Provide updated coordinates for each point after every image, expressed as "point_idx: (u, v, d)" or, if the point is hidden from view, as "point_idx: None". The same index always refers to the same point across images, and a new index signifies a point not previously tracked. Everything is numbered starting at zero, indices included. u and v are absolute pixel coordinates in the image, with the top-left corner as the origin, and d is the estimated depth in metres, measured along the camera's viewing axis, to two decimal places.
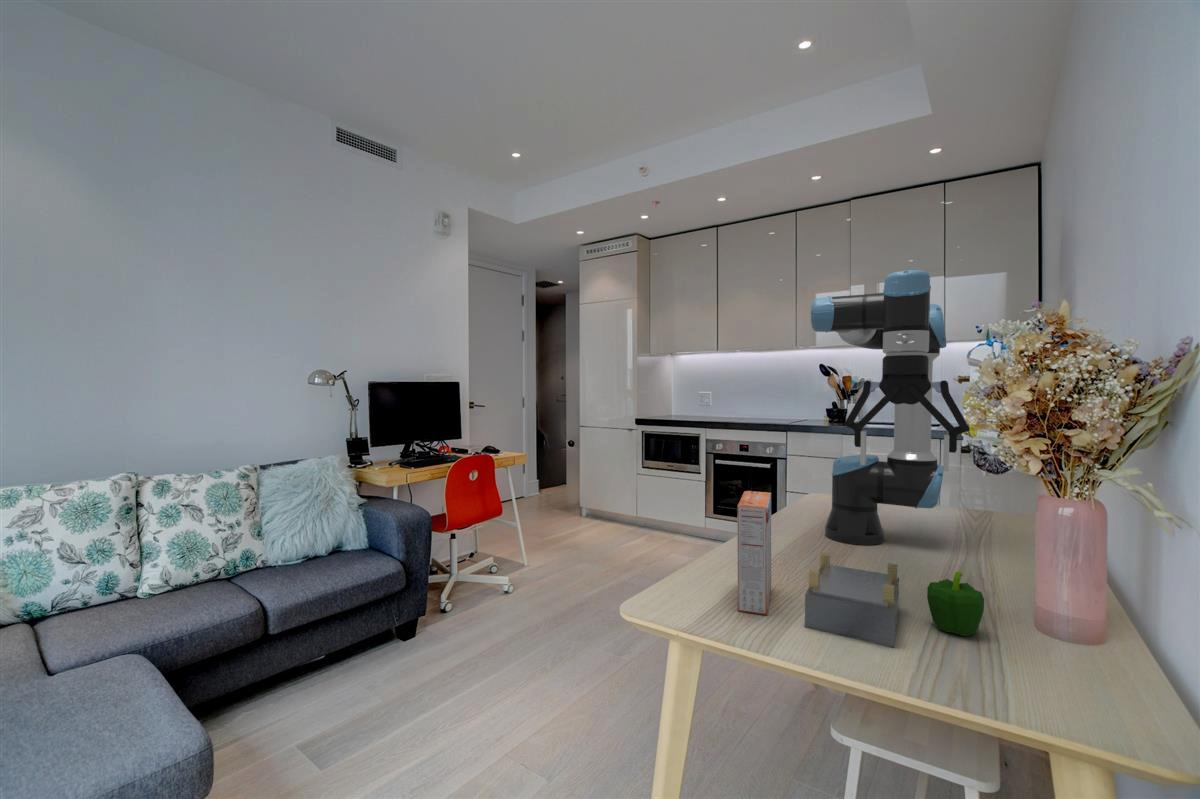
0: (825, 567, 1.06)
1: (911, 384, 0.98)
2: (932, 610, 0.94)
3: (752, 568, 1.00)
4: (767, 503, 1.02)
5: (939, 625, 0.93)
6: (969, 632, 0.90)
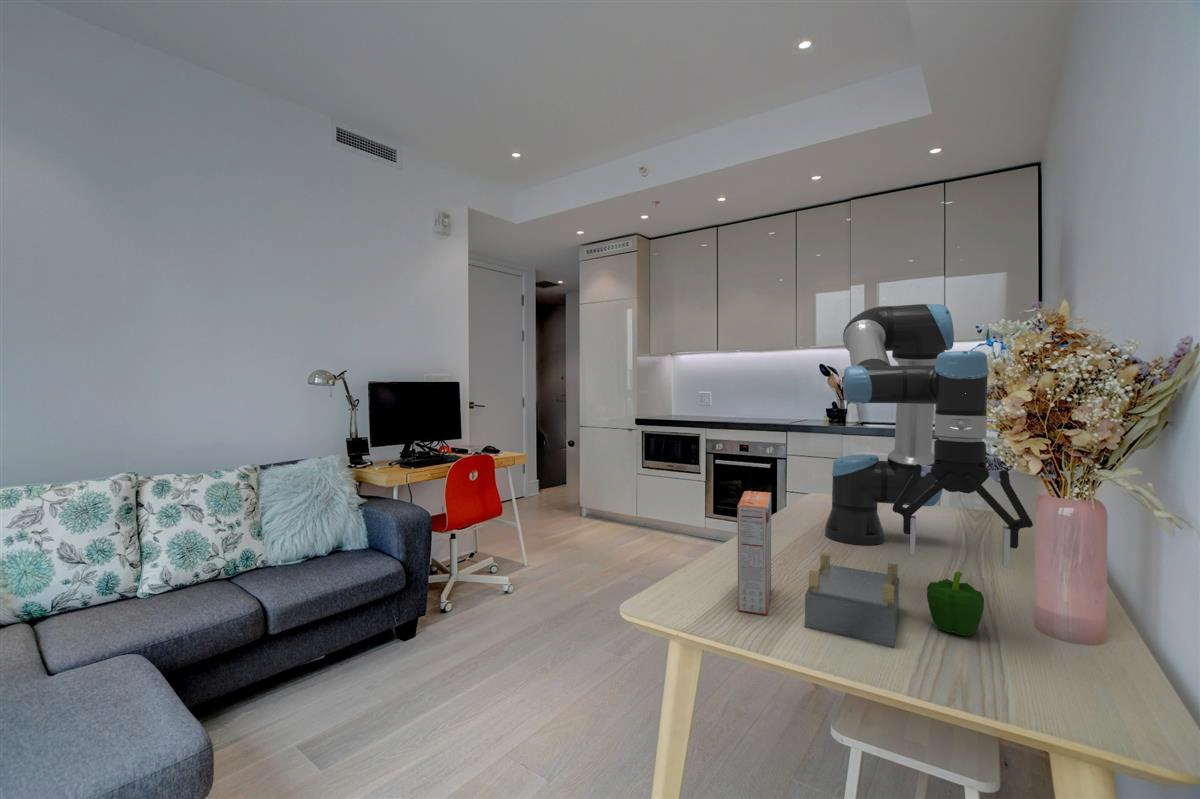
0: (825, 567, 1.06)
1: (967, 472, 0.91)
2: (932, 610, 0.94)
3: (752, 568, 1.00)
4: (767, 503, 1.02)
5: (939, 625, 0.93)
6: (969, 632, 0.90)
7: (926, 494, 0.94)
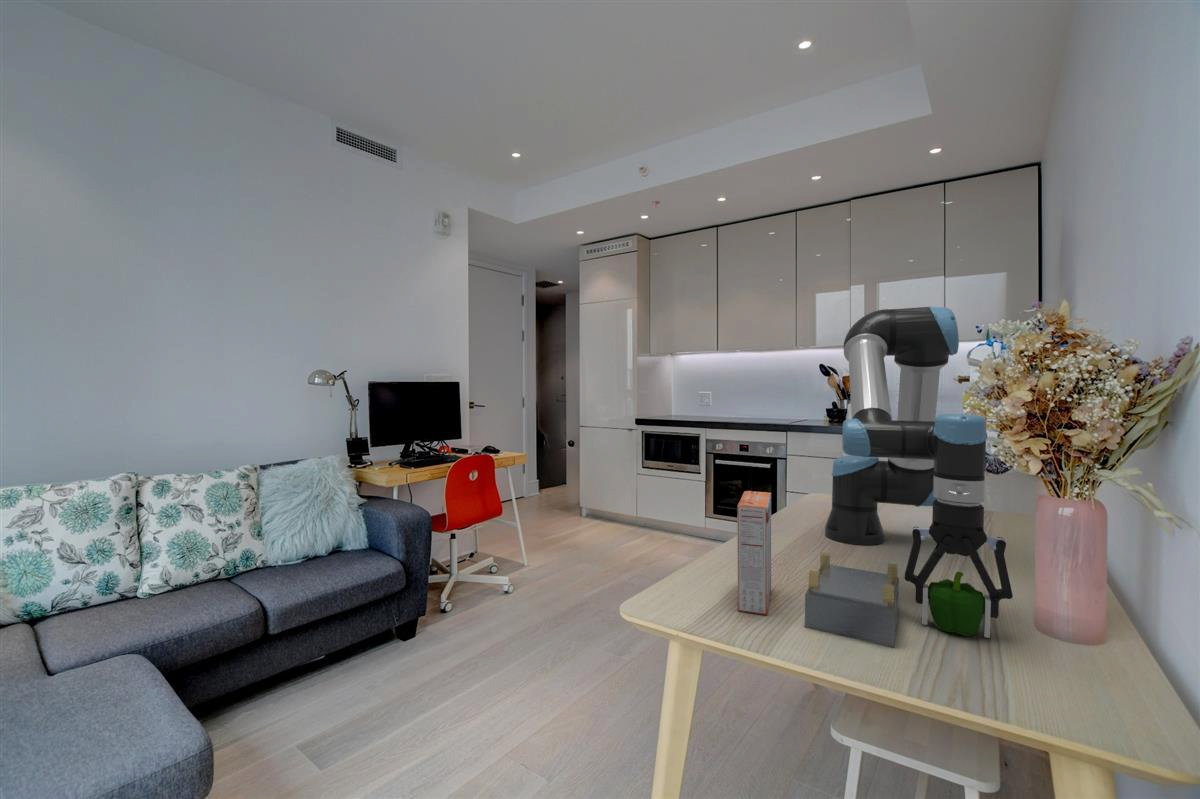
0: (825, 567, 1.06)
1: (966, 532, 0.91)
2: (933, 610, 0.94)
3: (752, 568, 1.00)
4: (767, 503, 1.02)
5: (940, 625, 0.93)
6: (970, 632, 0.90)
7: (931, 560, 0.94)
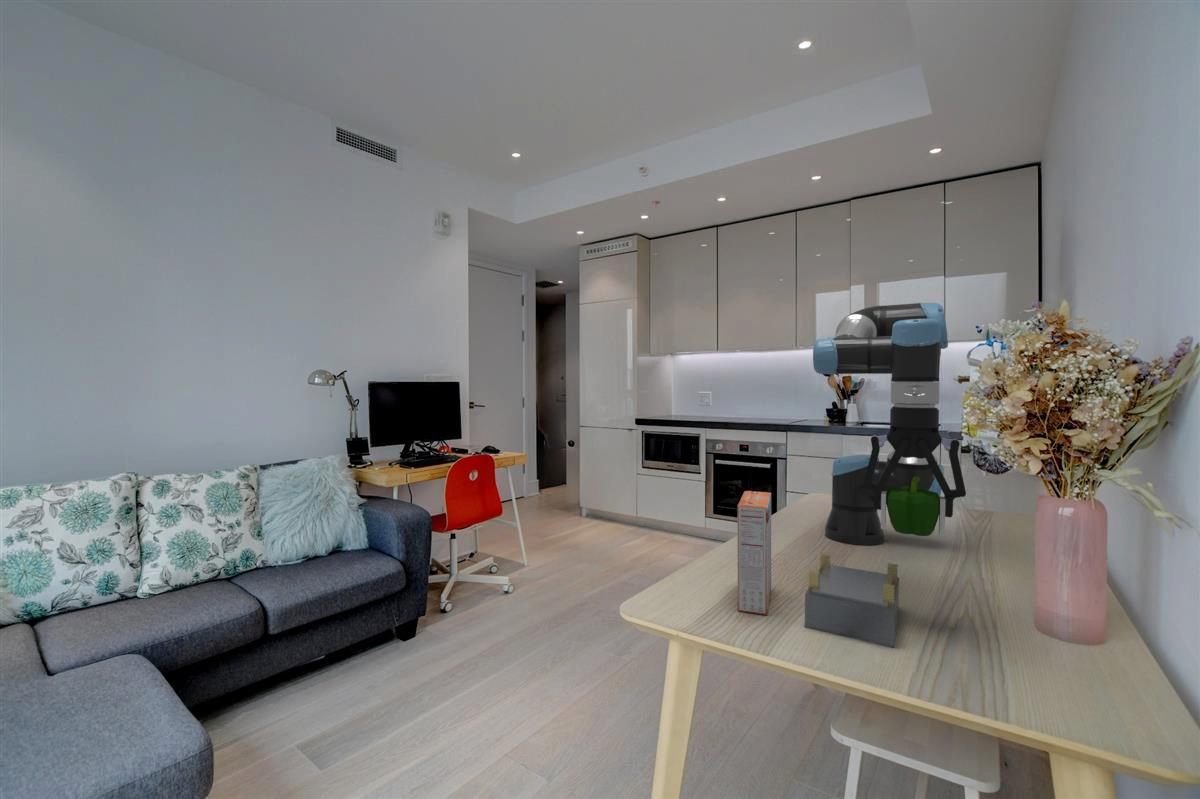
0: (825, 567, 1.06)
1: (922, 435, 0.93)
2: (891, 514, 0.95)
3: (752, 568, 1.00)
4: (767, 503, 1.02)
5: (897, 528, 0.94)
6: (926, 532, 0.92)
7: (889, 465, 0.96)
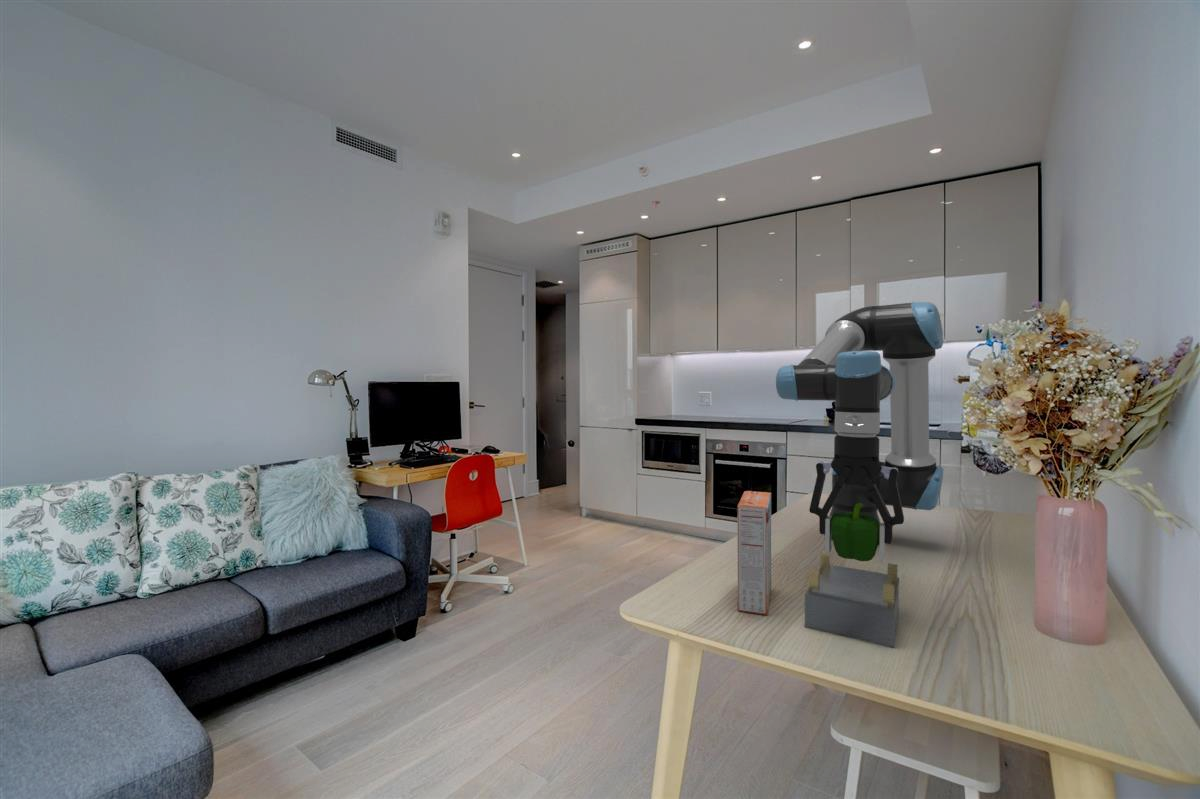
0: (825, 567, 1.06)
1: (863, 463, 0.96)
2: (833, 539, 0.98)
3: (752, 568, 1.00)
4: (767, 503, 1.02)
5: (839, 552, 0.97)
6: (865, 557, 0.95)
7: (833, 492, 0.99)
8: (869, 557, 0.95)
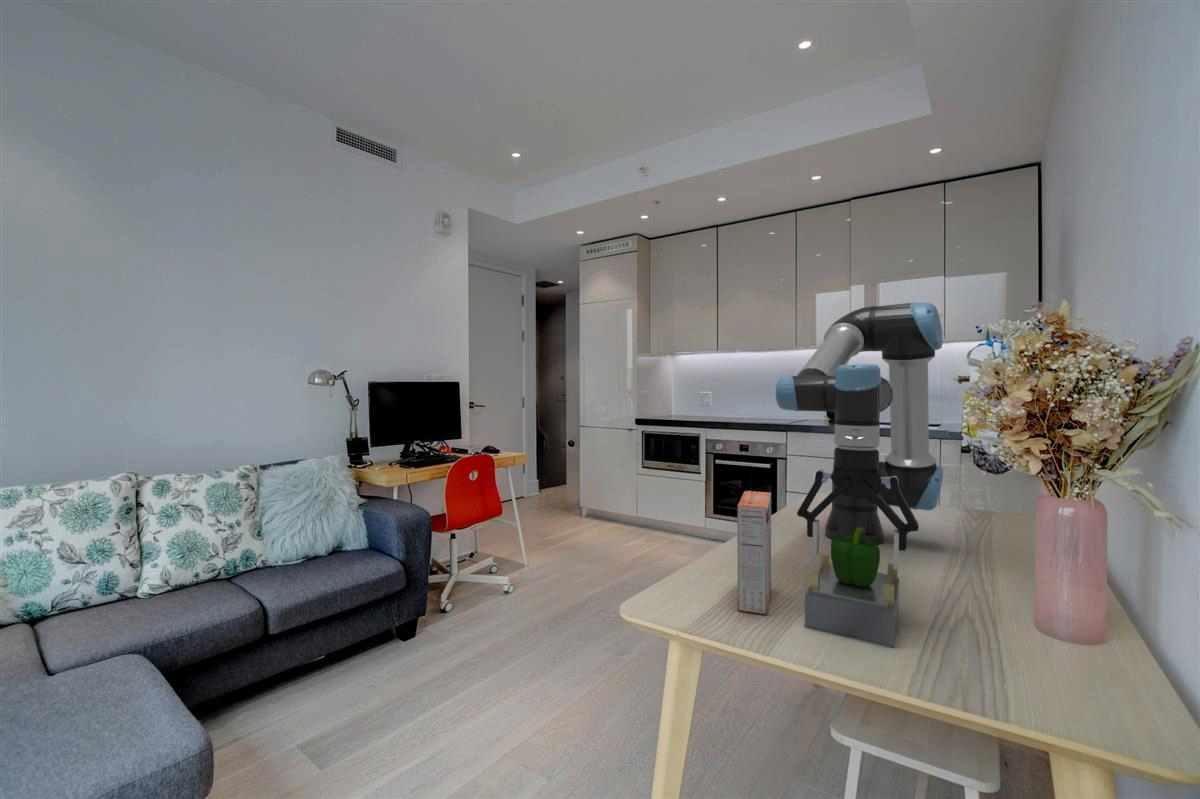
0: (825, 567, 1.06)
1: (862, 478, 0.96)
2: (833, 563, 0.99)
3: (752, 568, 1.00)
4: (767, 503, 1.02)
5: (839, 577, 0.98)
6: (865, 583, 0.95)
7: (826, 499, 1.00)
8: (869, 582, 0.95)
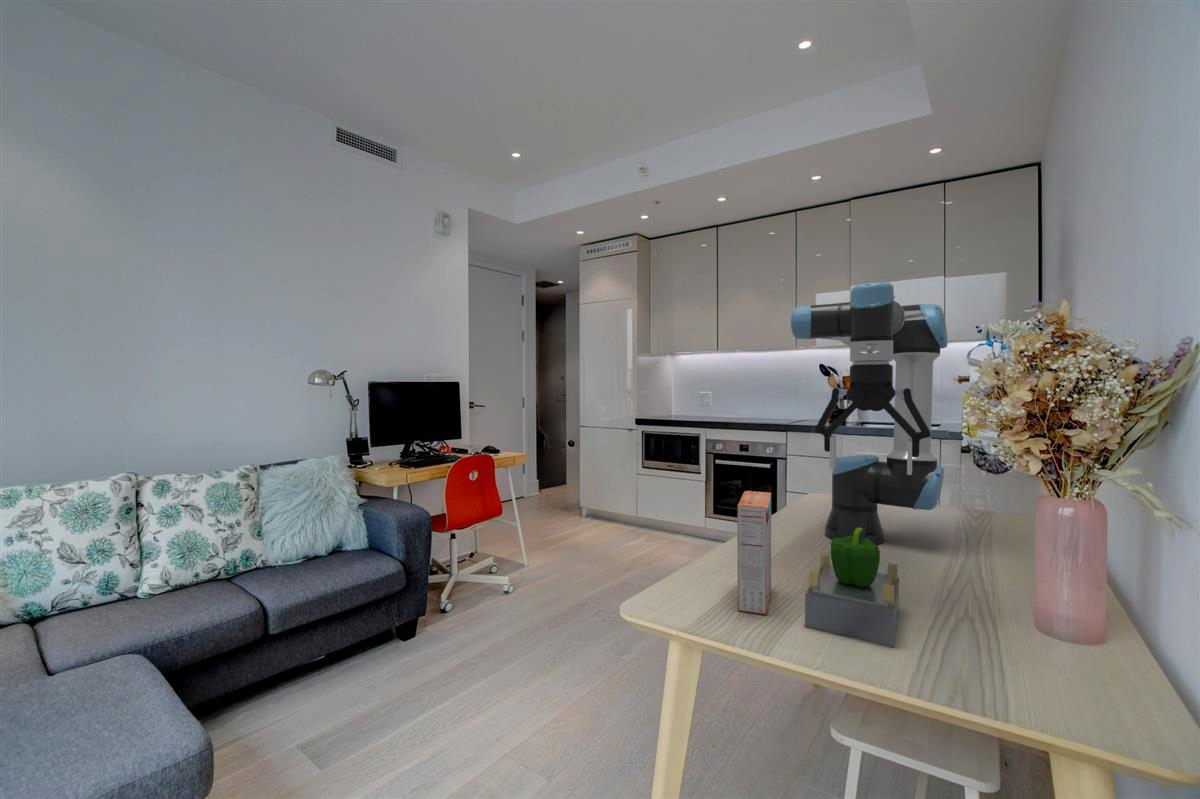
0: (825, 567, 1.06)
1: (876, 392, 1.02)
2: (833, 563, 0.99)
3: (752, 568, 1.00)
4: (767, 503, 1.02)
5: (839, 577, 0.98)
6: (865, 583, 0.95)
7: (842, 414, 1.05)
8: (869, 583, 0.95)
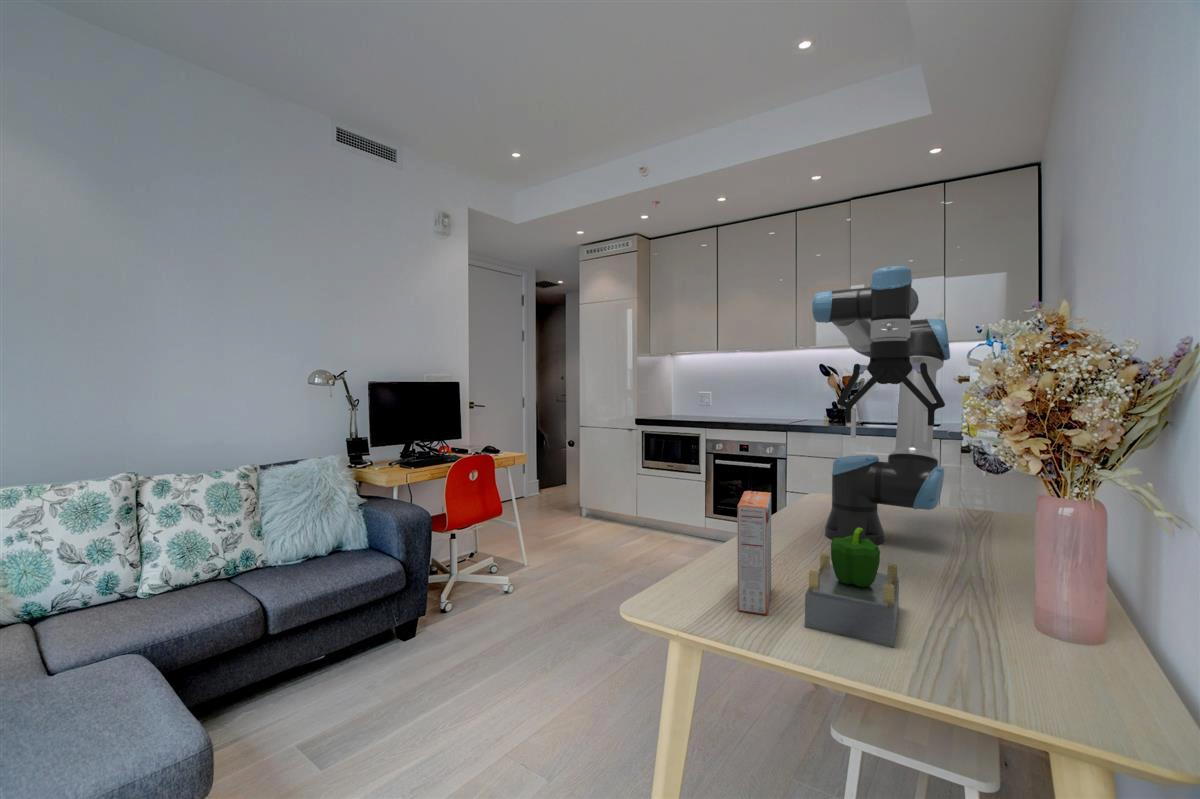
0: (825, 567, 1.06)
1: (895, 366, 1.11)
2: (833, 563, 0.99)
3: (752, 568, 1.00)
4: (767, 503, 1.02)
5: (839, 577, 0.98)
6: (865, 583, 0.95)
7: (863, 387, 1.15)
8: (869, 583, 0.95)
